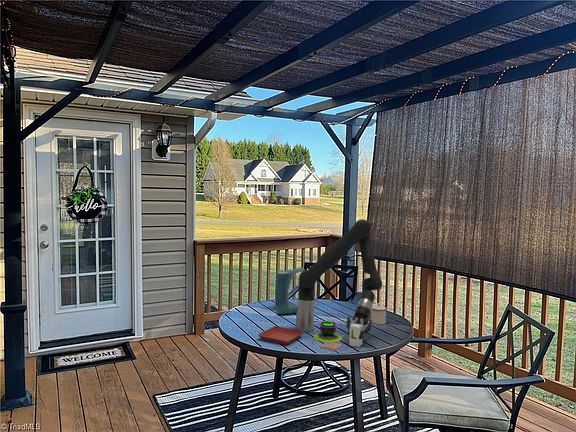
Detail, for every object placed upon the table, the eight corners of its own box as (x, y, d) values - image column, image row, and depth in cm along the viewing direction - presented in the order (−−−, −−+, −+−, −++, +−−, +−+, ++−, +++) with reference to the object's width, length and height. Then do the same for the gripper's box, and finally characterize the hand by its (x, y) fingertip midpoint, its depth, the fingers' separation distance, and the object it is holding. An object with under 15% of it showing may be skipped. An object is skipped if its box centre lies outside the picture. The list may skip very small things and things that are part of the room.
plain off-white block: (349, 345, 211) (349, 325, 210) (353, 342, 215) (353, 323, 215) (358, 347, 208) (359, 327, 208) (362, 344, 212) (362, 325, 212)
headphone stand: (315, 307, 284) (314, 266, 285) (311, 316, 257) (310, 271, 257) (277, 307, 288) (276, 267, 288) (270, 316, 260) (268, 272, 261)
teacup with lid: (389, 323, 251) (389, 304, 251) (378, 325, 246) (379, 306, 246) (375, 318, 261) (375, 300, 261) (364, 320, 256) (364, 301, 256)
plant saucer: (287, 347, 206) (288, 340, 206) (257, 340, 215) (257, 334, 215) (304, 337, 222) (304, 331, 222) (275, 331, 231) (275, 325, 230)
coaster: (320, 347, 206) (320, 345, 206) (327, 342, 213) (327, 341, 213) (335, 350, 202) (335, 349, 202) (341, 346, 209) (341, 344, 209)
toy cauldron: (347, 337, 223) (348, 317, 222) (330, 344, 212) (330, 322, 211) (325, 331, 233) (326, 311, 233) (307, 337, 222) (308, 316, 222)
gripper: (349, 303, 221) (339, 331, 211) (375, 307, 214) (366, 336, 204) (353, 310, 226) (343, 338, 216) (378, 315, 218) (369, 344, 209)
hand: (354, 337), depth 210 cm, fingers closed on plain off-white block, 5 cm apart
